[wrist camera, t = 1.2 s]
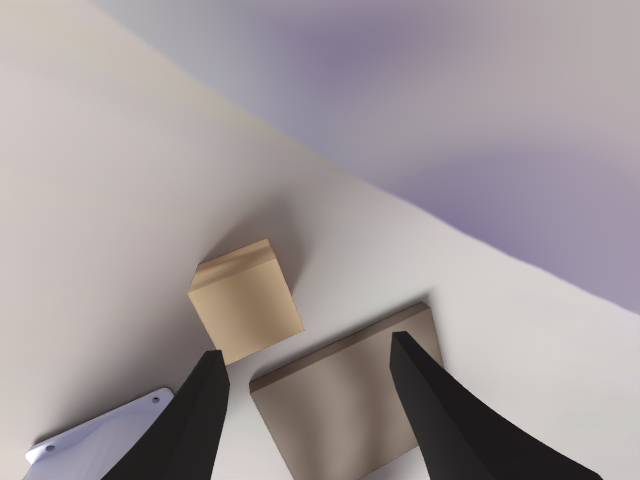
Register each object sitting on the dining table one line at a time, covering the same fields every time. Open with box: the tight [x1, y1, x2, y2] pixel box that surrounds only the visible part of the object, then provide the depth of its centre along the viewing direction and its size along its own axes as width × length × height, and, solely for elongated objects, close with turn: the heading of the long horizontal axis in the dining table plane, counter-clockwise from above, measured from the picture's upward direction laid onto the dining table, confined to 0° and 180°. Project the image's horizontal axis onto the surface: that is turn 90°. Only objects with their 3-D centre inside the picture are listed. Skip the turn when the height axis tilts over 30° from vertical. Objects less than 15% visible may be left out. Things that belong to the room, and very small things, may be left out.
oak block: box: [187, 238, 305, 366], centre depth 19 cm, size 5×5×5 cm
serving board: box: [249, 302, 444, 480], centre depth 26 cm, size 16×14×1 cm
